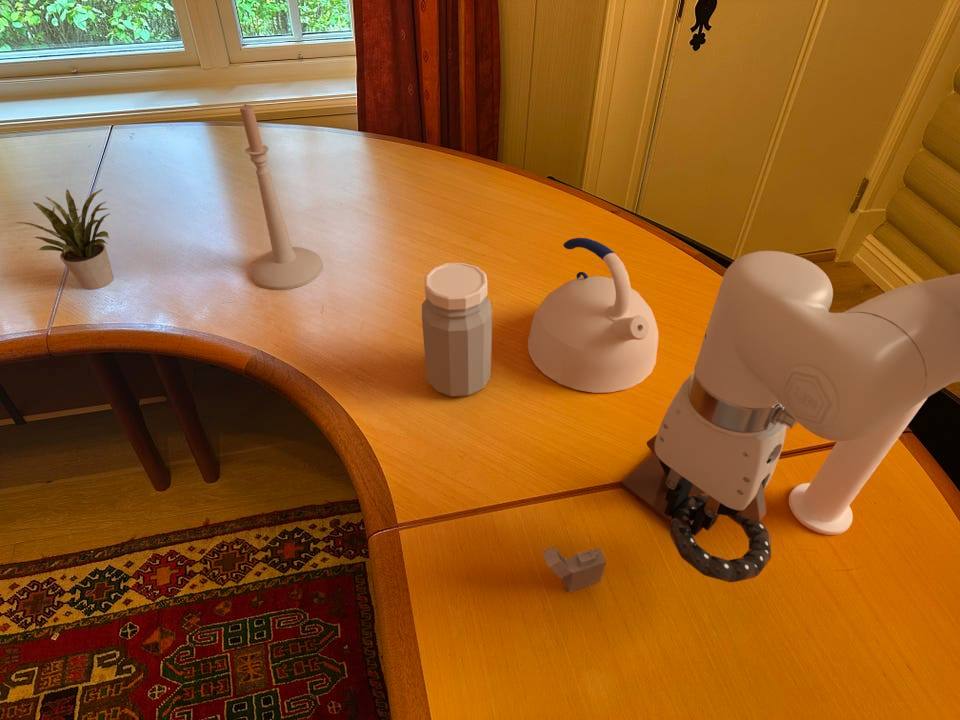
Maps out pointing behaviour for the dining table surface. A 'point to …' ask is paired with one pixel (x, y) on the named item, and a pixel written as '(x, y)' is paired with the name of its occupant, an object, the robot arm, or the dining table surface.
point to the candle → (844, 478)
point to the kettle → (595, 329)
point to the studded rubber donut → (717, 566)
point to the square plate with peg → (652, 487)
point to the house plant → (79, 243)
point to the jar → (457, 329)
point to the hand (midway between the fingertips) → (687, 515)
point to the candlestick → (276, 226)
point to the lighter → (576, 567)
